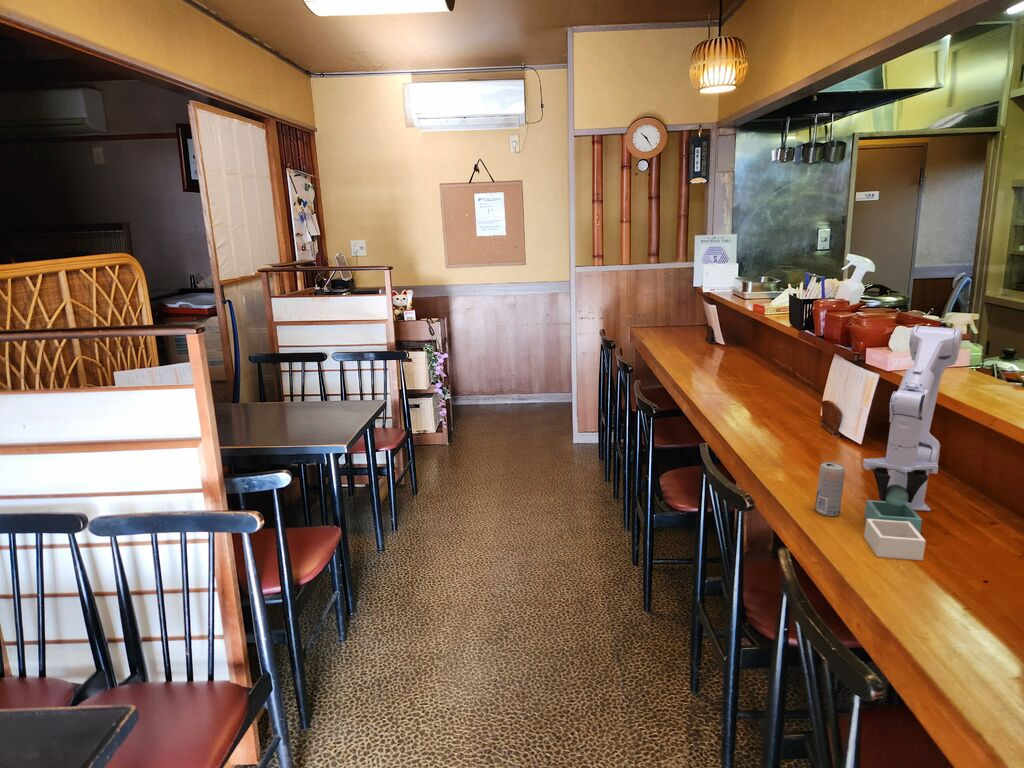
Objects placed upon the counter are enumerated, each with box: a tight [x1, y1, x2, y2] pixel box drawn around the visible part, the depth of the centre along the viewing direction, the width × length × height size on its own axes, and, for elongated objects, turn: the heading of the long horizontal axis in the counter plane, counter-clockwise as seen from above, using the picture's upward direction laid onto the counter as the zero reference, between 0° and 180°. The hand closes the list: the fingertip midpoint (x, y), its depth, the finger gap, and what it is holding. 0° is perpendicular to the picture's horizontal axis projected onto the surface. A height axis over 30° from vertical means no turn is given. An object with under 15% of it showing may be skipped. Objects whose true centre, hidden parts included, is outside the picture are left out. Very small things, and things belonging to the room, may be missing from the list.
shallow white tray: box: [863, 519, 927, 561], centre depth 134 cm, size 9×9×4 cm
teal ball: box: [885, 484, 909, 507], centre depth 141 cm, size 5×5×5 cm
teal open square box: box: [864, 499, 923, 534], centre depth 143 cm, size 9×9×4 cm
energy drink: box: [814, 461, 846, 517], centre depth 150 cm, size 5×5×12 cm
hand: (894, 499), depth 141 cm, fingers closed on teal ball, 5 cm apart
